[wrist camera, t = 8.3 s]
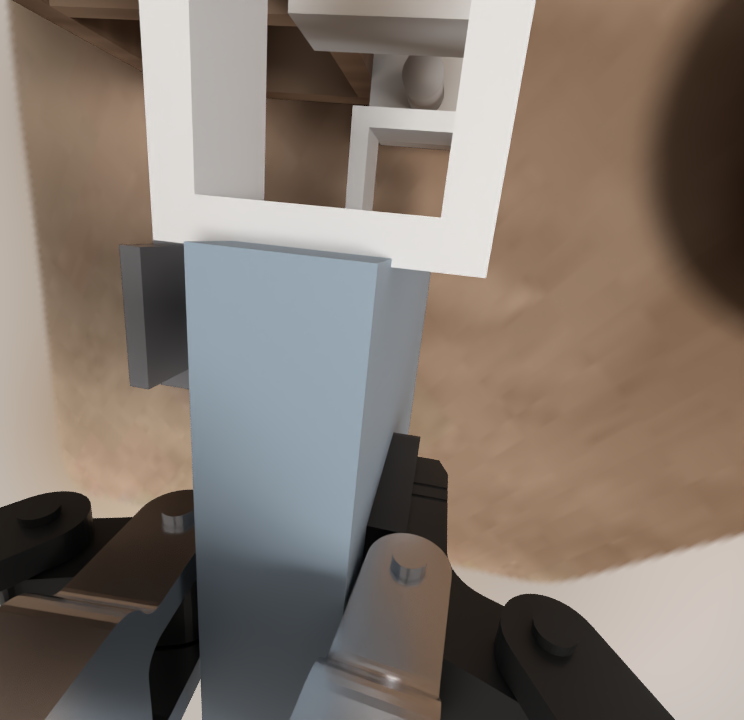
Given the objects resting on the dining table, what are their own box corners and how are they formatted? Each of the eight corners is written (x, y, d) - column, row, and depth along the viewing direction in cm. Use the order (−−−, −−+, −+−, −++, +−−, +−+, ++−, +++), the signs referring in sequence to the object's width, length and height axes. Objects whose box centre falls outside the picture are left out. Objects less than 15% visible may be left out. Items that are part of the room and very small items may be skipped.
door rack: (266, 228, 25) (225, 226, 20) (262, 395, 28) (225, 426, 24) (162, 217, 26) (99, 212, 21) (170, 379, 29) (116, 406, 25)
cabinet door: (474, 146, 18) (624, -407, 2) (423, 472, 22) (369, 957, 7) (377, 139, 18) (27, -340, 3) (348, 458, 23) (156, 881, 8)
